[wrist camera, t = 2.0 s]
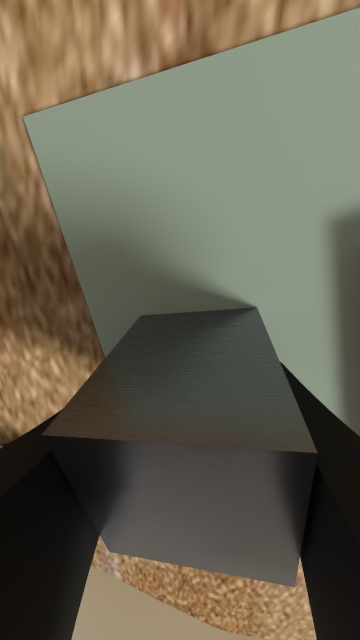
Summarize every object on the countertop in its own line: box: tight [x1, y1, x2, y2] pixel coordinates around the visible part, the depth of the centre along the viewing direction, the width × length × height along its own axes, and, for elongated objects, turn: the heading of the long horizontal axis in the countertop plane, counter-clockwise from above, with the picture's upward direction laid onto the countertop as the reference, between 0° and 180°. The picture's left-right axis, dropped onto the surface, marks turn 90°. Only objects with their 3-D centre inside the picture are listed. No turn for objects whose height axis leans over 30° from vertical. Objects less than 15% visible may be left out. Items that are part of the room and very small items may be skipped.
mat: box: [23, 8, 360, 436], centre depth 10 cm, size 20×24×1 cm
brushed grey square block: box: [42, 307, 318, 587], centre depth 7 cm, size 5×5×6 cm
